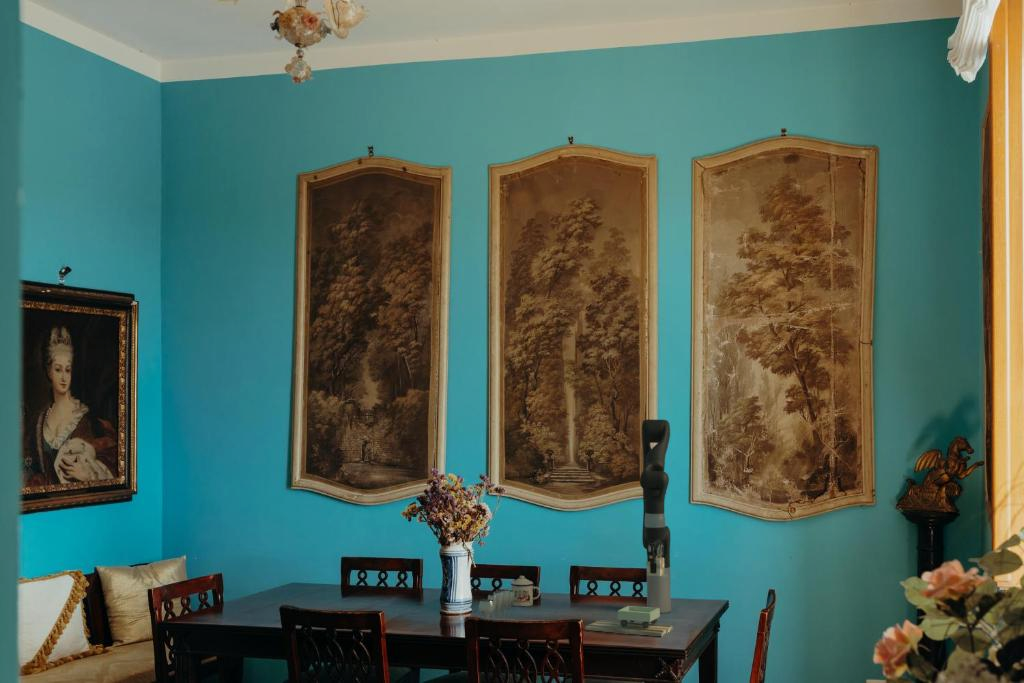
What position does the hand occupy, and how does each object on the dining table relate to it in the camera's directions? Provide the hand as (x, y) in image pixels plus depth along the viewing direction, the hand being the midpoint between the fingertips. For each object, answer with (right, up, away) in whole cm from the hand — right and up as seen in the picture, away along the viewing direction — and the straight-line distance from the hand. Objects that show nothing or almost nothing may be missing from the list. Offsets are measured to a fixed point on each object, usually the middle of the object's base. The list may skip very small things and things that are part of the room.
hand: (655, 572), depth 392 cm
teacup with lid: (-47, -23, +43) cm, 68 cm away
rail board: (-11, -19, -11) cm, 24 cm away
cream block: (0, -1, 0) cm, 1 cm away
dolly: (-8, -16, -12) cm, 22 cm away
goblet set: (-58, -19, -7) cm, 62 cm away
